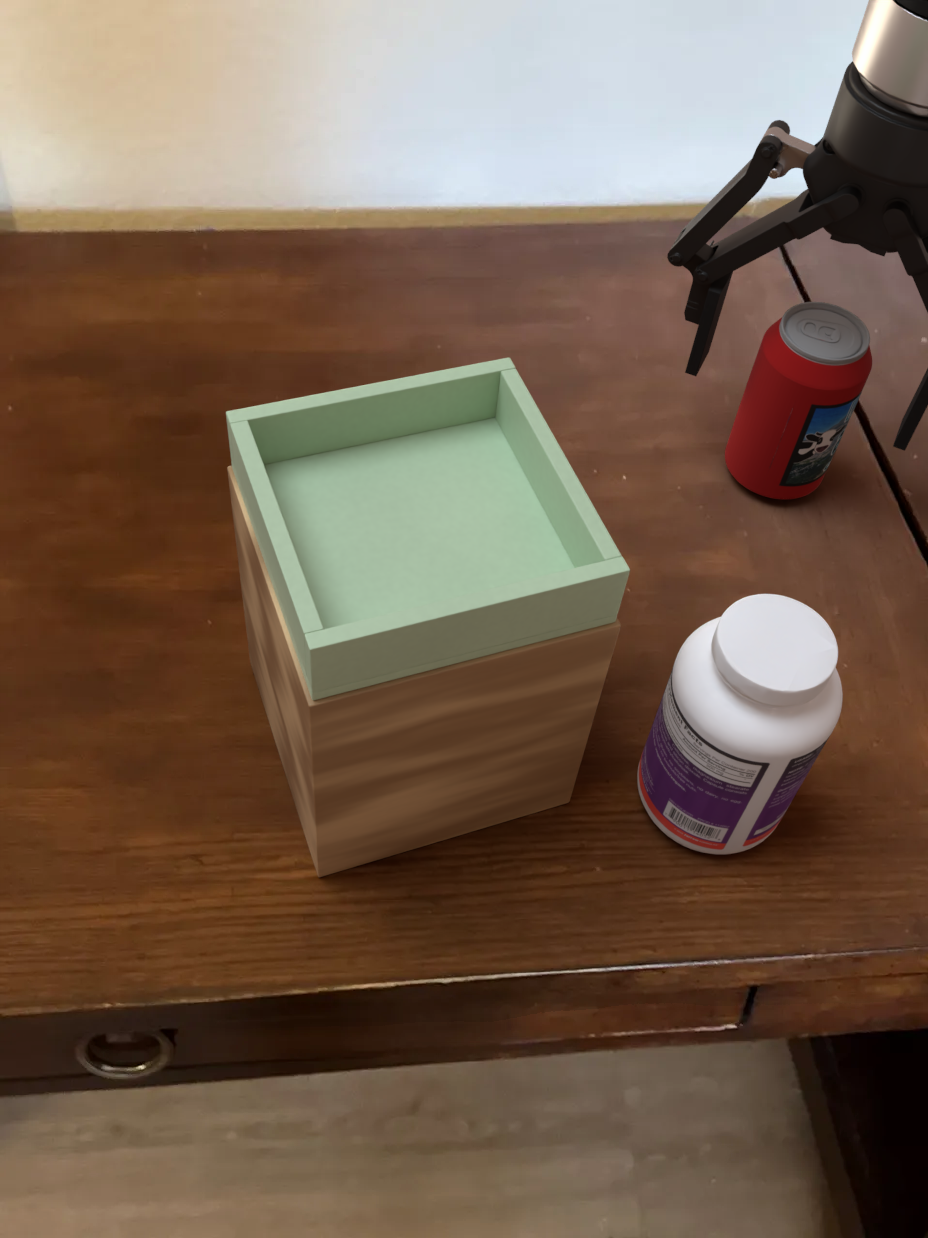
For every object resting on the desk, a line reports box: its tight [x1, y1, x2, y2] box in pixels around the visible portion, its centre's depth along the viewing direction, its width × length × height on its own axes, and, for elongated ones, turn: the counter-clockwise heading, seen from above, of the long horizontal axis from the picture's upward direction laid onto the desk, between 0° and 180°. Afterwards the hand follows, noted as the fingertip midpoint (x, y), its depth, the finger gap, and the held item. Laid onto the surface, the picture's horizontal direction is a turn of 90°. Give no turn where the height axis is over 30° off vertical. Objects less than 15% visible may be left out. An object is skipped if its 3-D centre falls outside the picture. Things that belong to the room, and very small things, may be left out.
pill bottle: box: [636, 593, 844, 855], centre depth 60 cm, size 8×8×14 cm
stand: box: [226, 465, 622, 878], centre depth 61 cm, size 14×14×16 cm
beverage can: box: [724, 301, 873, 500], centre depth 77 cm, size 7×7×12 cm
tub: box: [225, 357, 631, 700], centre depth 53 cm, size 14×14×4 cm
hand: (798, 398), depth 77 cm, fingers open, 13 cm apart
